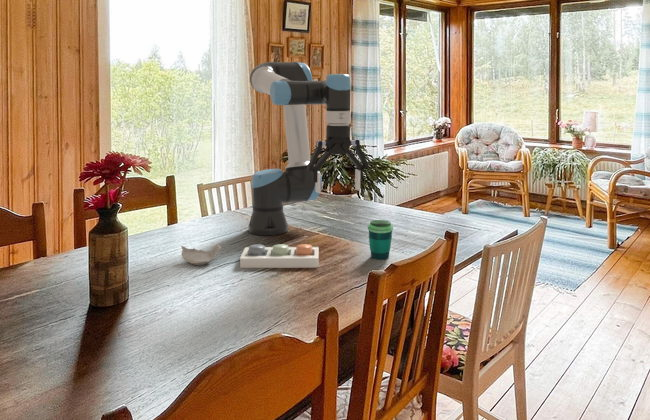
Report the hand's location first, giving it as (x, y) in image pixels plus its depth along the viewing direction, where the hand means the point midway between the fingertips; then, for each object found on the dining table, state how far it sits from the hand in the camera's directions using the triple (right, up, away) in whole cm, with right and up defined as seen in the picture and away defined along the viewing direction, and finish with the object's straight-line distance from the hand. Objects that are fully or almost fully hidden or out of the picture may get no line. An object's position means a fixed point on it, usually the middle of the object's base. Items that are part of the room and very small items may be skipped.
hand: (337, 191), depth 178 cm
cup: (+14, -22, +1) cm, 26 cm away
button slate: (-26, -20, -3) cm, 32 cm away
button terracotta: (-11, -19, -3) cm, 22 cm away
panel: (-18, -22, -2) cm, 29 cm away
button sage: (-18, -20, -3) cm, 27 cm away
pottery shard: (-43, -23, -3) cm, 49 cm away
